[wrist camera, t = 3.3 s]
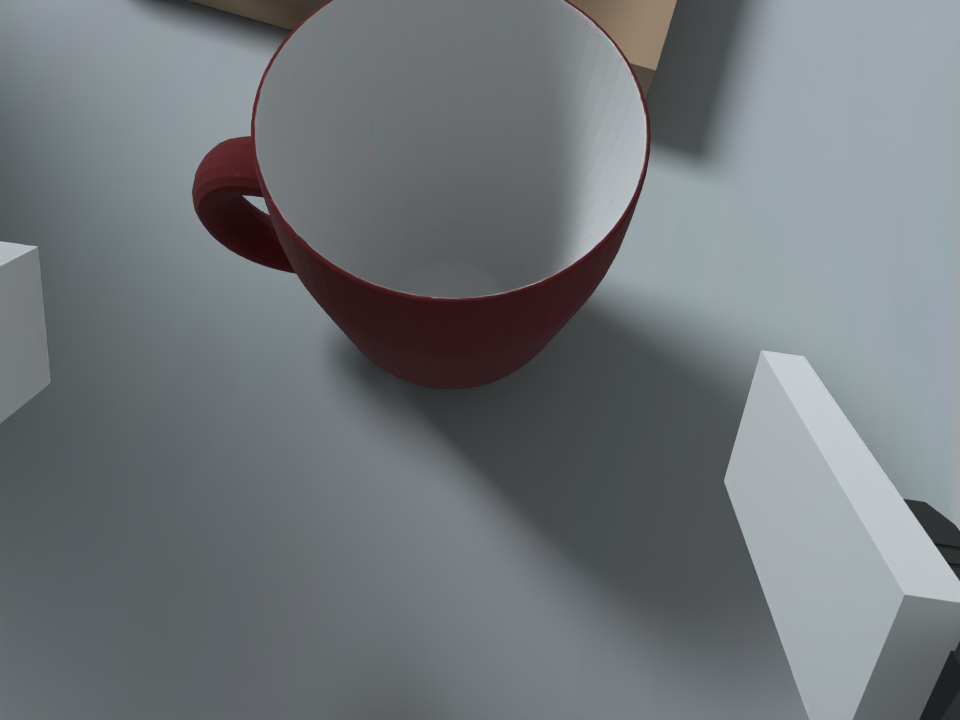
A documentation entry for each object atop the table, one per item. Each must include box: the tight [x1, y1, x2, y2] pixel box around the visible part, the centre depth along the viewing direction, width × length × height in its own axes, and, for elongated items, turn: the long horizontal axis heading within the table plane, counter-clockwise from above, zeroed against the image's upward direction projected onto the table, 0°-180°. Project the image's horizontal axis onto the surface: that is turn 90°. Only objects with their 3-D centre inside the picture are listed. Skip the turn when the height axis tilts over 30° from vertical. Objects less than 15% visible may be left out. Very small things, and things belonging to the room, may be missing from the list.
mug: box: [192, 0, 650, 389], centre depth 22 cm, size 11×8×10 cm
